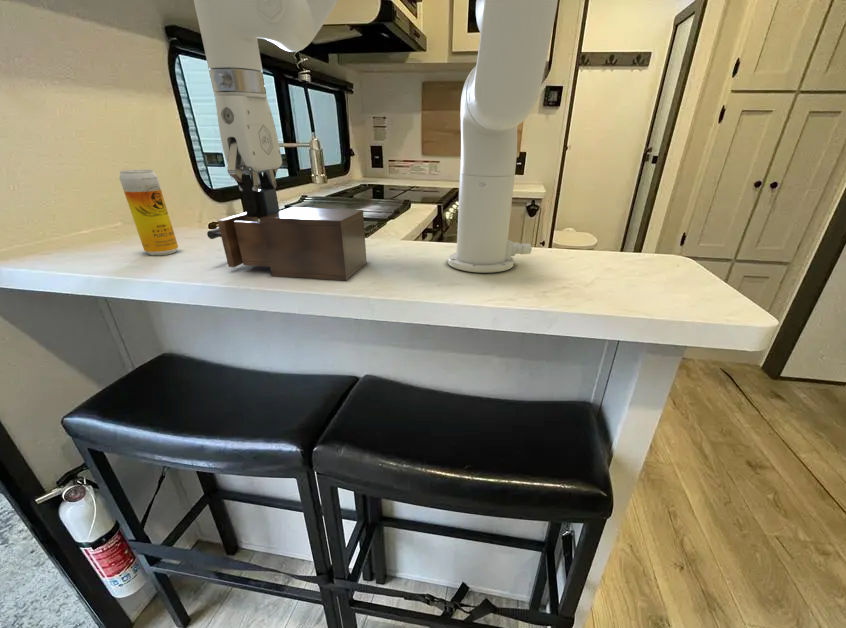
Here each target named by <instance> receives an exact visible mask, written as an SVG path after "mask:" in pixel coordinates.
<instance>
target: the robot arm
mask: <svg viewBox="0 0 846 628" xmlns="http://www.w3.org/2000/svg"><path fill="white" fill-rule="evenodd" d="M558 1H559V0H476V1H475V18H476V26H477V28H478V31H479V33H480V35H479V42H478V51H477V56H476V65H475V66H474V67H473V68H472V69H471V71H470V72H469V74H468V75H467V77H466V79H465V81H464V84H463V87H462V92H461V95H460V96H461V97H460V162H459V163H460V164H459V165H460V166H459V184H458V206H457V209H458V210H457V232H456V252H453V253H452V254H450V255H449V256H448V257H447V263H448V265H449V266H451V267H452V268H454V269H457V270H459V271H463V272H464V271H465V272H470V273H480V274H481V273H486V274H487V273H501V272H504V271H508V270H511V269H512V268H513V267H514V264H515V263H514V262H515V259H514V258H513V257H515V256H516V255H530V254H531V253H532V248H533V247H532V244H531V243H520V242H513V241H512V240H510V239H509V233H510V223H511V215H512V205H513V204H512V203H513V195H514V194H513V193H514V186H515V185H514V183H515V175H516V169H517V168H516V167H517V154H518V126H519V125H520V124H522V123H523V122H524V121H525V120H526V119H527V118H528V117H529V116H530V114H531V113H532V111H533V110H534V107H535V105H536V103H537V101H538V99H539V98H538V97H539V95H540V91H541V87H542V81H543V79H544V75H545V74H544V73H545V69H546V64H547V59H548V54H549V49H550V43H551V39H552V34H553V30H554V24H555V20H556V14H557V8H558V3H559V2H558ZM338 2H339V0H193V4H194V8H195V13H196V18H197V21H198V22H197V23H198V26H199V30H200V35H201V40H202V45H203V49H204V54H205V58H206V63H207V68H208V72H209V76H210V82H211V85H212V90H213V95H214V98H215V107H216V115H217V123H218V130H219V136H220V140H221V145H222V146H221V147H222V151H223V154H224V158H225V161H226V164H227V173H228V175H229V176H230V177H232V179H234V180H235V182H236V183H237V184H238V188H239V191H240V192H241V193H242V197H243V201H244V203H243V204H244V207H245V212H247V216H248V217H257V218H260V217H264V216H266V213H265V207H264V202H263V197H262V192H261V191H258V189H276V188H277V181H276V178H277V172H278V170H279V168H280V167H281V166H282V164H283V159H282V152H281V149H280V143H279V138H278V133H277V130H276V125H275V120H274V116H273V113H272V110H271V106H270V103H269V100H268V95H267V89H266V84H265V78H264V77H265V76H264V73H263V65H262V59H261V53H260V48H259V42H258V39H262V40H266V41H268V42H270V43H272V44H274V45H276V46H277V47H279V48H280V49H282V50H284V51H286V52H290V53H295V52H300V51H302V50H304V49H305V48H306V47H308V46H309V45H310V44H311V43H312V42H313V40H314V39H315V37H316V36H317V35H318V33H319V32H320V31H321V28H322V27H323V26H324V24H325V23H326V21H327V19H328V18H329V16H330V15H331V13H332V12H333V10H334V8H335V7H336V5H337V3H338ZM248 175H249V176H250V177H249V176H248ZM276 190H277V189H276ZM278 206H279V207H280V205H279V204H278Z"/></svg>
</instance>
